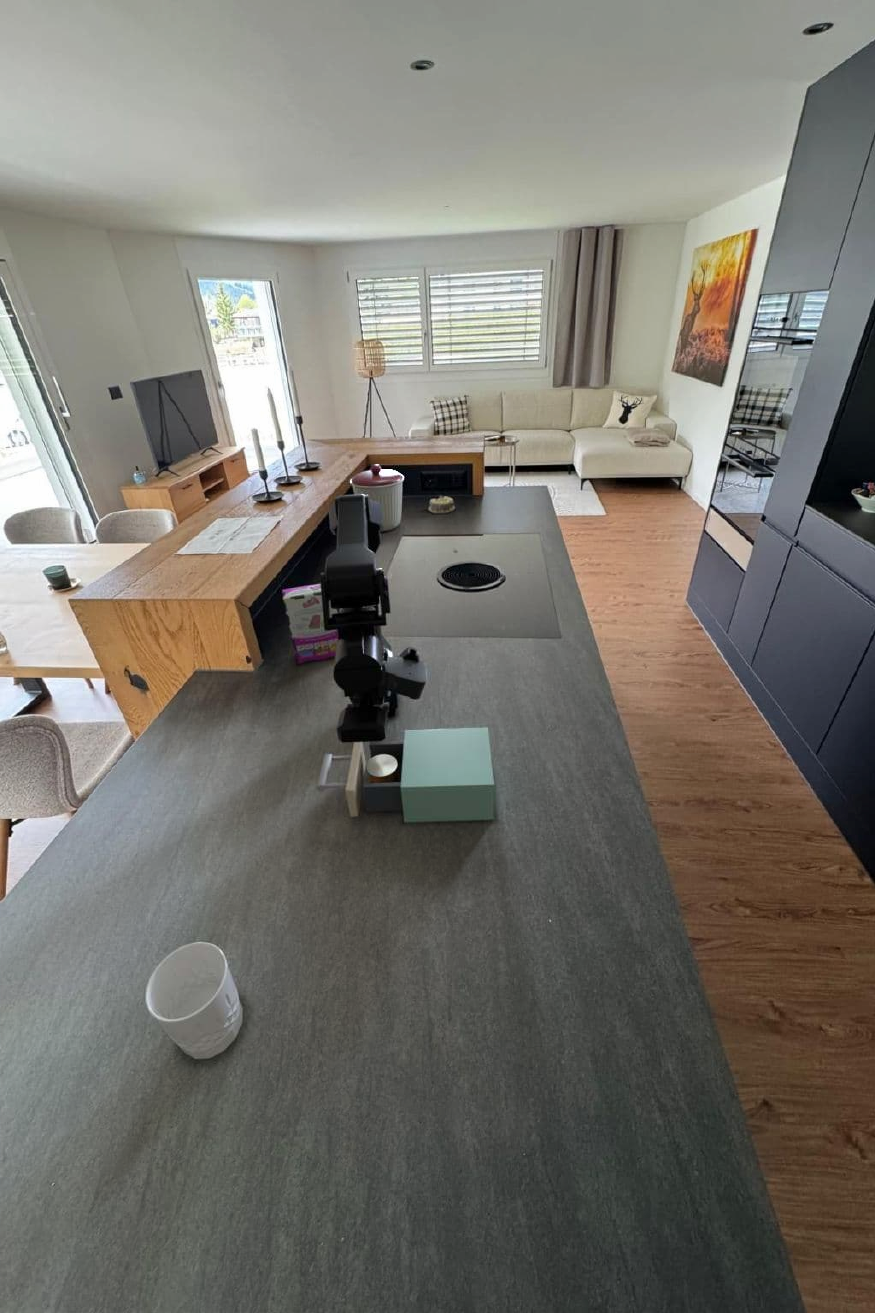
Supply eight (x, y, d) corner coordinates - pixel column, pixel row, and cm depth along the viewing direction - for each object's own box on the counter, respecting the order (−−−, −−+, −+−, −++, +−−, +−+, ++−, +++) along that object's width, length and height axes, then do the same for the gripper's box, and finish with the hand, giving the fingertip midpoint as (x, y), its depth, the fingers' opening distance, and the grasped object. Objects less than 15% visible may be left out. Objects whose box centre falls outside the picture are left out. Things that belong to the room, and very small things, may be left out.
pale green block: (404, 822, 85) (400, 787, 81) (408, 763, 95) (404, 730, 91) (493, 819, 84) (494, 784, 80) (487, 761, 95) (487, 727, 91)
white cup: (256, 986, 65) (235, 939, 60) (238, 1064, 59) (213, 1019, 53) (189, 990, 65) (162, 944, 60) (163, 1068, 59) (131, 1024, 53)
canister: (417, 522, 195) (413, 460, 184) (387, 539, 183) (381, 474, 171) (376, 514, 204) (370, 455, 192) (345, 530, 191) (336, 468, 179)
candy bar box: (344, 644, 129) (334, 580, 120) (347, 655, 125) (337, 590, 116) (295, 653, 126) (281, 588, 117) (297, 665, 122) (282, 598, 113)
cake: (460, 511, 205) (460, 496, 202) (437, 517, 201) (437, 502, 197) (445, 502, 211) (445, 488, 208) (423, 508, 207) (422, 494, 204)
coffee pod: (367, 795, 87) (364, 777, 85) (370, 772, 91) (367, 754, 89) (398, 794, 87) (396, 776, 85) (400, 771, 91) (398, 753, 89)
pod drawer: (318, 817, 85) (312, 791, 82) (330, 764, 95) (325, 739, 91) (431, 814, 85) (429, 787, 81) (432, 761, 94) (430, 735, 91)
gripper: (420, 688, 67) (426, 780, 76) (422, 613, 83) (428, 696, 91) (328, 691, 67) (345, 783, 76) (348, 616, 83) (360, 699, 91)
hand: (374, 736), depth 83 cm, fingers closed
